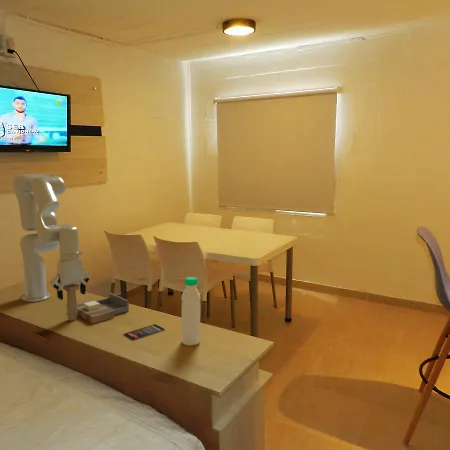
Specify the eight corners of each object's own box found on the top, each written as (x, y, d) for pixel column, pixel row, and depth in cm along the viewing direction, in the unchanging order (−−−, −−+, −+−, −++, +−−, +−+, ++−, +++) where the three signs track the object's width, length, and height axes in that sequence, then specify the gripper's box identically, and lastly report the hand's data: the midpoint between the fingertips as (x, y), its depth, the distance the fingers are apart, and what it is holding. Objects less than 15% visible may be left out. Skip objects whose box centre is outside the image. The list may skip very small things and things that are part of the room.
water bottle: (183, 347, 151) (183, 281, 147) (179, 339, 158) (179, 276, 154) (202, 345, 153) (202, 280, 149) (197, 337, 160) (198, 274, 156)
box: (94, 306, 190) (93, 296, 190) (110, 302, 196) (109, 292, 195) (112, 316, 179) (112, 305, 179) (128, 311, 185) (128, 300, 184)
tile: (83, 307, 181) (83, 303, 180) (94, 304, 184) (94, 300, 184) (89, 310, 177) (89, 306, 177) (99, 307, 181) (99, 303, 180)
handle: (68, 317, 178) (66, 283, 175) (82, 318, 177) (81, 284, 174) (62, 321, 173) (60, 287, 170) (76, 322, 172) (75, 287, 170)
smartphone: (122, 334, 161) (155, 323, 171) (122, 335, 161) (155, 325, 171) (132, 340, 156) (165, 329, 166) (132, 341, 156) (165, 330, 166)
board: (70, 311, 185) (70, 304, 184) (91, 305, 192) (91, 299, 191) (92, 323, 171) (92, 317, 170) (114, 317, 178) (114, 310, 177)
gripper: (85, 252, 179) (86, 290, 181) (44, 258, 167) (47, 299, 169) (93, 254, 174) (95, 293, 176) (52, 261, 162) (55, 303, 164)
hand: (71, 296), depth 173 cm, fingers open, 9 cm apart
